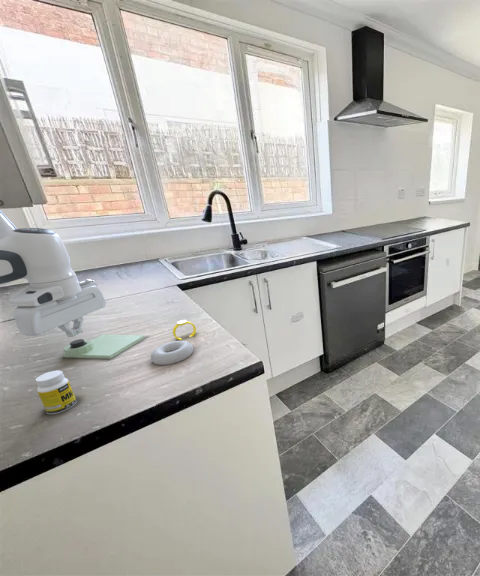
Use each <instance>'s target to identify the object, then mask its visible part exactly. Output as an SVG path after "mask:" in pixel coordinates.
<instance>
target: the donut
mask: <svg viewBox="0 0 480 576" xmlns="http://www.w3.org/2000/svg"><path fill="white" fill-rule="evenodd" d="M193 351H194V346H193V344H192V343H191V342H190V341H187V340H173V341H169V342H166V343H163V344H161V345H159V346H157V347H156V348H155V349H153V350H152V352H151V354H150V360H151V362H152V363H153V364H154V365H158V366H167V365H174V364H176V363H180V362H182V361H184V360H185V359H187V358H189V357H190V356H191V355H192V353H193Z"/></svg>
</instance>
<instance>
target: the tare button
mask: <svg viewBox="0 0 480 576" xmlns="http://www.w3.org/2000/svg"><path fill="white" fill-rule="evenodd" d="M69 345H70V346H71V348H73V349H74V348H79V347H82V346H84V345H86V343H85V339H83V338H80V339H79V338H78V339H75V340H73V341H70V342H69Z"/></svg>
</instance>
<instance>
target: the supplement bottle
mask: <svg viewBox="0 0 480 576" xmlns="http://www.w3.org/2000/svg"><path fill="white" fill-rule="evenodd" d="M35 383H36V386H37V388H36V393H37V394H38V396H39V398H40V401H41V404H42V405H43V408H44V410H45V412H46V414H48V415H55V414H59V413H62V412H65V411H67V410H69V409H71V408H73V407H74V406H75V405H76V404H77V402H78V401H77V398H76V396H75V393H74V391H73V388H72V385H71V384H70V383H71V382H70V380H69V379H68V377H67V378H66V377H65V374H64V373H63V371H62V370H59V369H58V370H57V369H56V370H52V371H48V372H44V373H43V374H41V375H39V376H37V377H36V378H35Z"/></svg>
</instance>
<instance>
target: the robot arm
mask: <svg viewBox="0 0 480 576" xmlns="http://www.w3.org/2000/svg"><path fill="white" fill-rule="evenodd" d="M18 280H26V281H27V282H28V284H29V286H27V287H26V288H25V289H23V290H22V291H20V292H19V293H17V294H15V295H14V296H12V297H11V298H9V301H8V302H9V304H10V306H12V307H15V309H14V310H13V318H14V321H15V325H16V327H17V329H18V332H19V333H20V334H22V335H24V336H27V337H37V336H41V335H42V334H45V333H47V332H50V331H51V330H54V329H57V328H58V329H59V330H61V331H63V332H65V335H66V337H68V338H74V337H76V336H77V335H80V334H82V333H83V332H84V331H83V328H82V327H83V324H84V318H83V317H85V316H87V315H89V314H92V313H94V312H97V311H98V310H99V311H100V310H101V309H104V308H106V306H107V301H106V298H105V295H104V294H103V292H102V291H101V289H100V288H99V285H98V282H97V281H95V280H93V279H90V278H88V279H84V280H82V281H79V279H78V276H77V274H76V272H75V271H74V269H73V268H72V266H71V257H70V255H69V252H68V250H67V248H66V245H65V244H64V242H63V240H62V238H61V237H60V235H59V234H58V233H57V232H55V231H54V230H51V229H47V228H39V227H23V228H22V227H21V228H18V227H17V226H16V225H15V224H14V223H13V222H12V221H11V220H10V219H9V218H8V217H7V215H6V214H5V213H4V212H3V211H2V210H1V209H0V285H5V284H9V283H11V282H14V281H18ZM70 322H73V326H72V328H71V327H70V326H71V323H70Z"/></svg>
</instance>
